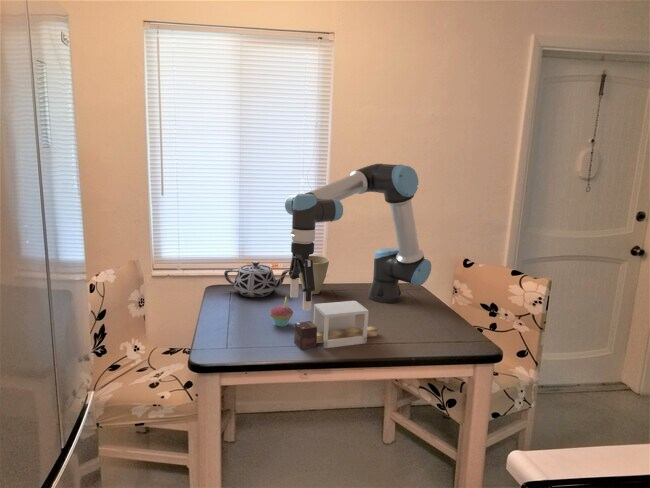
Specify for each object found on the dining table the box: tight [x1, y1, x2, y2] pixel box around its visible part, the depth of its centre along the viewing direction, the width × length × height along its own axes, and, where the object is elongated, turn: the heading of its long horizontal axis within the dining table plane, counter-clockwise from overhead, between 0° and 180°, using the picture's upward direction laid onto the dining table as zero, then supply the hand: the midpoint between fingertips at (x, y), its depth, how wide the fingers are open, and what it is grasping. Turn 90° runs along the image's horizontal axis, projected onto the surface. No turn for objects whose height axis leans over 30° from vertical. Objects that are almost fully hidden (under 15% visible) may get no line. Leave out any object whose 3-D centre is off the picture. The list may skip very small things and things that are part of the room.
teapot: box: [223, 260, 290, 298], centre depth 207 cm, size 19×31×15 cm, turn 88°
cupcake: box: [269, 295, 294, 327], centre depth 172 cm, size 9×8×12 cm
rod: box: [317, 325, 378, 344], centre depth 163 cm, size 25×3×3 cm, turn 112°
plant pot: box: [299, 255, 330, 295], centre depth 213 cm, size 15×15×16 cm
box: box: [293, 320, 318, 350], centre depth 155 cm, size 6×6×7 cm
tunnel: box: [312, 300, 369, 349], centre depth 161 cm, size 16×11×12 cm
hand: (300, 303), depth 153 cm, fingers open, 13 cm apart
